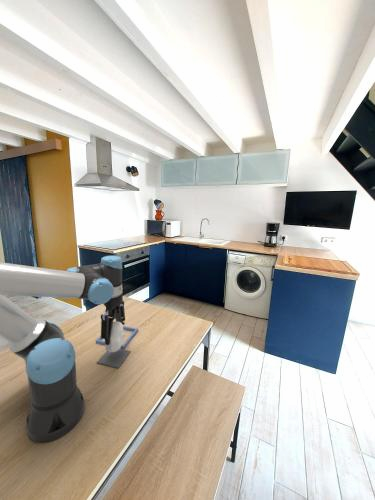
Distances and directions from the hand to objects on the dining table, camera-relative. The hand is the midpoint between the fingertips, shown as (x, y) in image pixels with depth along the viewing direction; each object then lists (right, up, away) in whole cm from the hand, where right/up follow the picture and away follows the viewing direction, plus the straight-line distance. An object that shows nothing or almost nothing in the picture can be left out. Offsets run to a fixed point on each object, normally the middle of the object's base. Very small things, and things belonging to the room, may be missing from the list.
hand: (114, 343), depth 88 cm
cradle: (-3, -3, +15) cm, 16 cm away
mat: (0, -6, +1) cm, 7 cm away
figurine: (0, -2, 0) cm, 2 cm away
